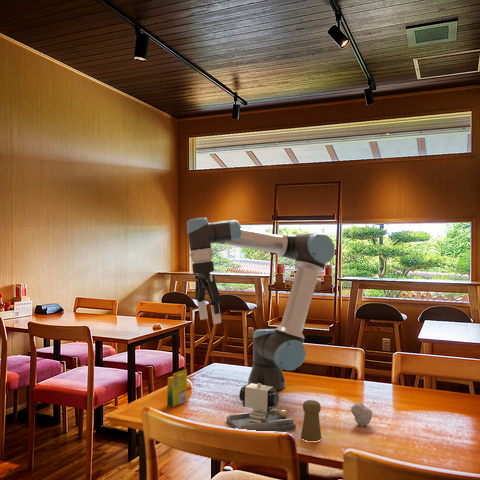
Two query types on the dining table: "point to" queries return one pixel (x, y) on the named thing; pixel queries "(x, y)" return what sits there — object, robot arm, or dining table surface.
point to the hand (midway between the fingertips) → (210, 321)
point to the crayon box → (177, 388)
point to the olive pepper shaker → (311, 421)
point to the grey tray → (274, 422)
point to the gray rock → (361, 414)
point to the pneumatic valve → (259, 400)
